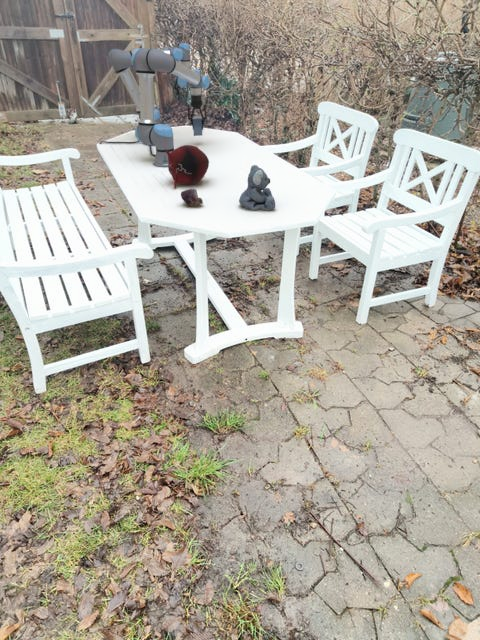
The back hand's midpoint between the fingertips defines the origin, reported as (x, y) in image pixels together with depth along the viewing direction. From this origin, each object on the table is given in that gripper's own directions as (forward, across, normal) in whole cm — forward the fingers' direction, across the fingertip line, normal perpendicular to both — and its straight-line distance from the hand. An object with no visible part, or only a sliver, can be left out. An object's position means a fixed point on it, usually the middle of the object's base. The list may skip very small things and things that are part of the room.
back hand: (187, 99), depth 346 cm
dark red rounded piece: (+26, -5, +120) cm, 123 cm away
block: (+19, -8, +32) cm, 38 cm away
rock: (+26, -8, +158) cm, 161 cm away
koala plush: (+26, -41, +162) cm, 169 cm away
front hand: (+16, -8, +32) cm, 36 cm away
